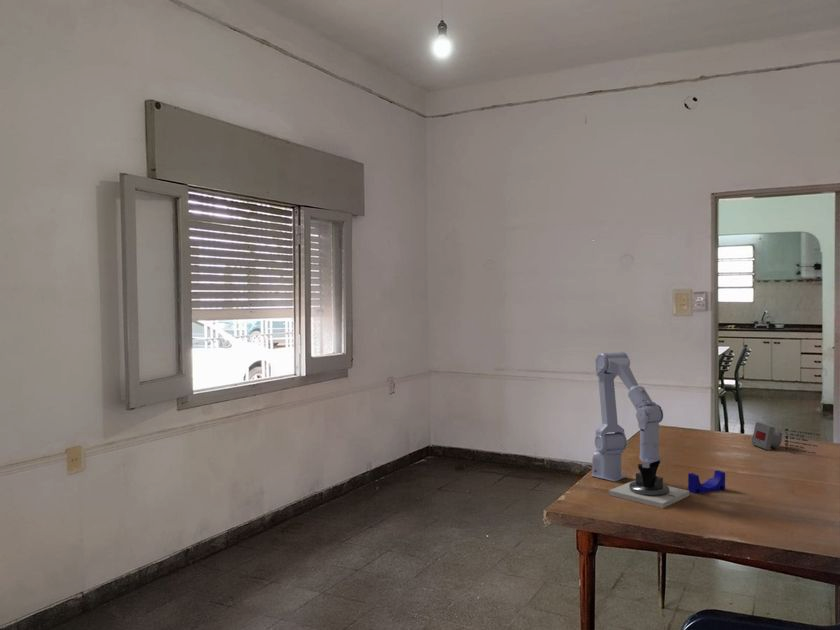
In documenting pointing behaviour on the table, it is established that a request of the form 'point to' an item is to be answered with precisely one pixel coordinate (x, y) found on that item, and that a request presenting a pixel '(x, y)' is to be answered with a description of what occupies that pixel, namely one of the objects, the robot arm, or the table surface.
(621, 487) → the dial panel
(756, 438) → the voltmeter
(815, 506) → the table surface
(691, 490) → the blue cradle block
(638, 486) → the dial
